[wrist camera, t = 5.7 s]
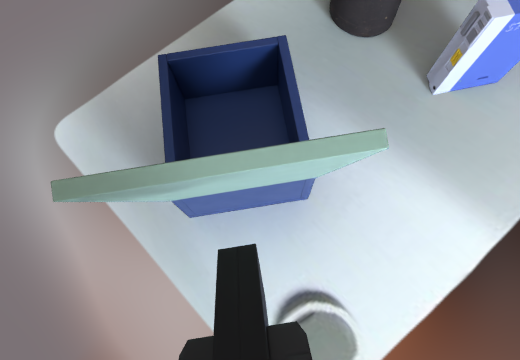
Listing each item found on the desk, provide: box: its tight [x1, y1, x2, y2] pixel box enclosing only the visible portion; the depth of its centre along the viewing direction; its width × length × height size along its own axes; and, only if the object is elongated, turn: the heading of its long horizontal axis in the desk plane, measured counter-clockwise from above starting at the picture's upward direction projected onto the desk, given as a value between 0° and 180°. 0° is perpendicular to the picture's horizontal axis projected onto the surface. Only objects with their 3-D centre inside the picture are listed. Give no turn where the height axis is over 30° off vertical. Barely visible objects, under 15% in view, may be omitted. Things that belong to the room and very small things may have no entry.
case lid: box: [51, 128, 389, 202], centre depth 21 cm, size 16×13×1 cm
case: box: [158, 35, 315, 218], centre depth 35 cm, size 15×13×8 cm
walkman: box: [427, 0, 520, 94], centre depth 35 cm, size 8×3×12 cm, turn 101°
